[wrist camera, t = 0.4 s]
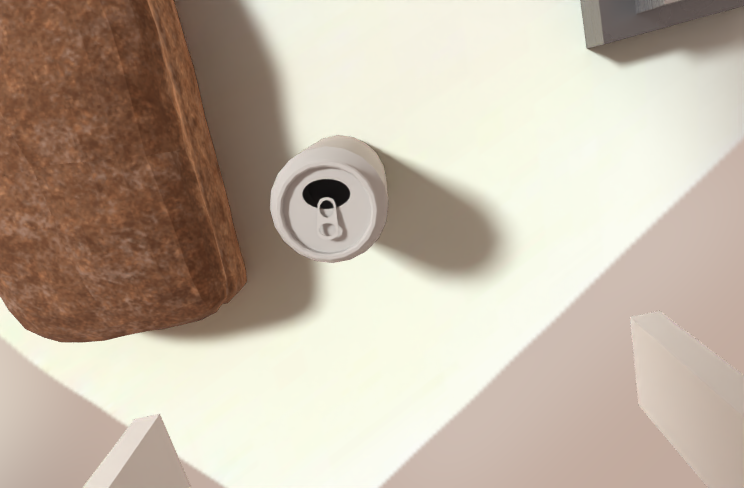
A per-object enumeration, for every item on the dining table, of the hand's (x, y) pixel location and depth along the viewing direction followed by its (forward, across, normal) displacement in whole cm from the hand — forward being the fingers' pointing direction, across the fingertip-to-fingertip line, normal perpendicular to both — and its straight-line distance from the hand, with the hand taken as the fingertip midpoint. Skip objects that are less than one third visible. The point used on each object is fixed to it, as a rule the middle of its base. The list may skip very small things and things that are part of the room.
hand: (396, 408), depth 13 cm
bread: (+29, -20, +10) cm, 37 cm away
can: (+29, -3, +2) cm, 29 cm away
